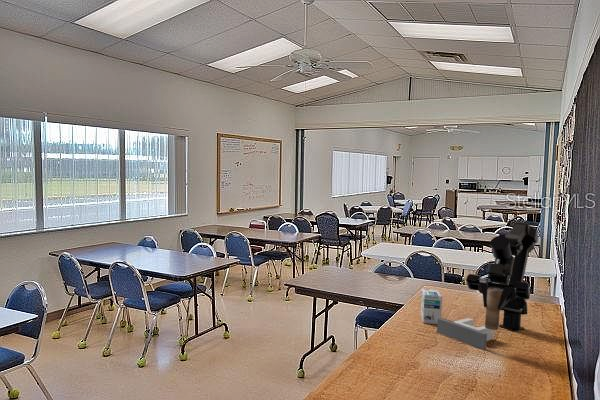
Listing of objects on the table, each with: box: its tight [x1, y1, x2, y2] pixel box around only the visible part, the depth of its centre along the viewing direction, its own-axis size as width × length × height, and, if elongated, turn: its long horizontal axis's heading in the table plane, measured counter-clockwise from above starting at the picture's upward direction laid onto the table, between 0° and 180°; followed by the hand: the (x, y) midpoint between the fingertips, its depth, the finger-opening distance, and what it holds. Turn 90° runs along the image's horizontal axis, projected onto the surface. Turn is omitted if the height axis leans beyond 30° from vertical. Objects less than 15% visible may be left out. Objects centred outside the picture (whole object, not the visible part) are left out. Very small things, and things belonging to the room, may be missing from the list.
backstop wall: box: [436, 317, 488, 350], centre depth 154 cm, size 2×18×5 cm, turn 35°
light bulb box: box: [420, 288, 443, 325], centre depth 176 cm, size 11×7×11 cm, turn 170°
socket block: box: [453, 317, 495, 342], centre depth 158 cm, size 9×10×4 cm
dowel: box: [484, 288, 502, 331], centre depth 146 cm, size 4×4×12 cm
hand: (491, 308), depth 145 cm, fingers closed on dowel, 4 cm apart
